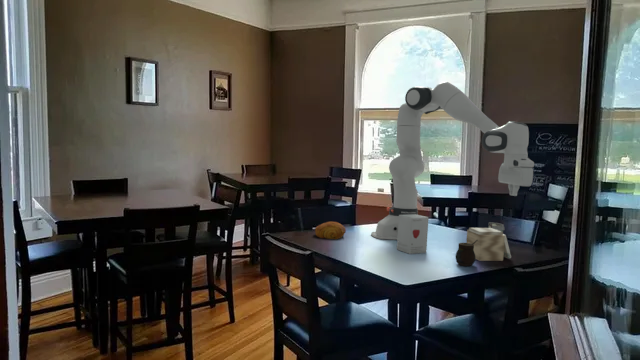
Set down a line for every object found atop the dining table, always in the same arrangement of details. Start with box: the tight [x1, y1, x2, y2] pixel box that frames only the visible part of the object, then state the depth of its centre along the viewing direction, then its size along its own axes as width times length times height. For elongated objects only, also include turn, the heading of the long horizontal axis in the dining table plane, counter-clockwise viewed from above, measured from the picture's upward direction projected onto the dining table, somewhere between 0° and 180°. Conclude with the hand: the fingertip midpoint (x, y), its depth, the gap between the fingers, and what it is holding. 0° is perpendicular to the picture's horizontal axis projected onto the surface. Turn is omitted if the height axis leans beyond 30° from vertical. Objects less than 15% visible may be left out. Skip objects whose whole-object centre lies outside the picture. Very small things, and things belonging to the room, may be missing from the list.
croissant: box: [314, 220, 347, 240], centre depth 236 cm, size 14×16×8 cm
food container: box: [488, 221, 505, 233], centre depth 227 cm, size 12×6×10 cm, turn 168°
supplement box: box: [396, 214, 429, 255], centre depth 208 cm, size 9×9×15 cm
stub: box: [503, 233, 512, 259], centre depth 204 cm, size 10×9×1 cm
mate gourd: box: [455, 240, 478, 267], centre depth 188 cm, size 7×8×10 cm
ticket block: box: [465, 227, 505, 262], centre depth 203 cm, size 10×12×11 cm
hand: (513, 195), depth 205 cm, fingers closed
